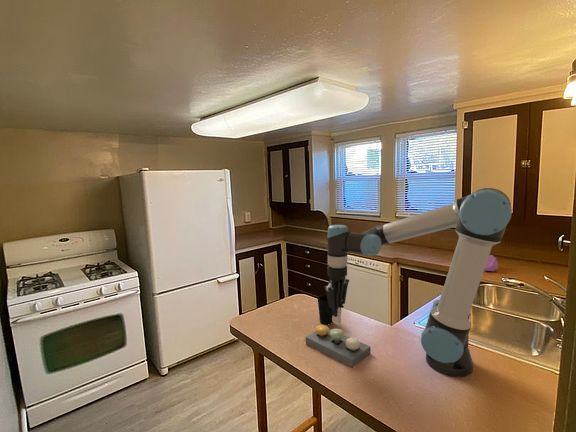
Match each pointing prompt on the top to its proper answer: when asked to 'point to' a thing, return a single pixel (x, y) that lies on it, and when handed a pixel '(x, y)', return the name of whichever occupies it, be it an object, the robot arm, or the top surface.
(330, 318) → the cup
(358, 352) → the panel
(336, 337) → the button sage
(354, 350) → the button cream
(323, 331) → the button amber
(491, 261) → the purple lumpy mound
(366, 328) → the top surface
